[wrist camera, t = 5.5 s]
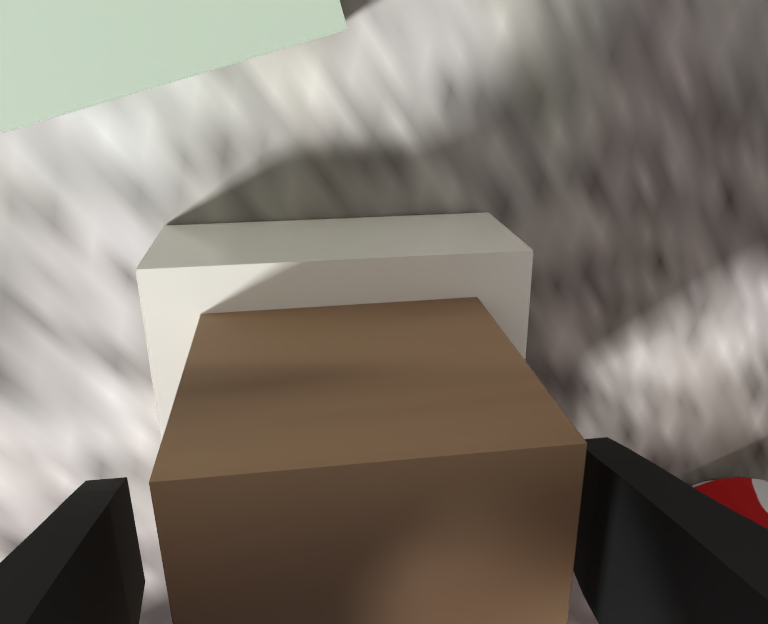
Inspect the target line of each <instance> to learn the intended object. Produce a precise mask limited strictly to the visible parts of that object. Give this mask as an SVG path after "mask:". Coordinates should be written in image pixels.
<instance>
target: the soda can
mask: <svg viewBox="0 0 768 624" xmlns="http://www.w3.org/2000/svg"><path fill="white" fill-rule="evenodd" d="M692 487H694V488H695V489H697V490H699V491H700V492H702V493H704V494H705V495H707V496H709V497H711V498H712V499H714V500H716V501H718V502H719V503H721V504H723V505H725V506H726V507H728V508H730V509H732V510H734V511H735V512H737V513H739V514H741V515H742V516H744V517H746V518H748V519H750V520H752V521H754V522H756V523H757V524H759V525H761V526H763V527H765V528H767V529H768V482H767V481H765V480H761V479H753V478H745V477H732V478H723V479H716V480H710V481H703V482H700V483H697V484H695V485H692Z"/></svg>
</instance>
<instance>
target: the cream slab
mask: <svg viewBox="0 0 768 624" xmlns="http://www.w3.org/2000/svg"><path fill="white" fill-rule="evenodd" d="M533 251H534V250H532V249H531V248H530V247H529V246H528V245H527V244H525V243H524V242H523V241H522V240H521V239H519V238H518V237H517V236H516V235H515V234H514V233H512V232H511V231H510V230H509V229H508V228H506V227H505V226H504V225H503V224H502V223H501V222H499V221H498V220H497V219H496V218H495V217H493V216H492V215H491V214H490V213H489V212H484V213H460V214H435V215H411V216H386V217H362V218H337V219H313V220H288V221H263V222H239V223H214V224H190V225H165V226H164V227H163V228H162V230H161V231H160V233H159V234H158V236H157V237H156V239H155V240H154V242H153V244H152V245H151V247H150V248H149V250H148V251H147V253H146V254H145V256H144V257H143V259H142V260H141V262H140V264H139V265H138V267H137V268H136V275H137V282H138V289H139V296H140V302H141V309H142V316H143V322H144V329H145V336H146V342H147V349H148V356H149V363H150V369H151V376H152V383H153V389H154V396H155V403H156V409H157V416H158V423H159V430H160V436H161V442H162V438H163V435H164V432H165V429H166V425H167V422H168V419H169V416H170V412H171V409H172V406H173V403H174V399H175V396H176V393H177V390H178V386H179V383H180V380H181V376H182V373H183V370H184V367H185V363H186V360H187V357H188V354H189V350H190V347H191V344H192V341H193V337H194V334H195V331H196V328H197V324H198V321H199V318H200V314H208V313H224V312H240V311H257V310H273V309H289V308H305V307H321V306H338V305H354V304H370V303H386V302H402V301H419V300H435V299H451V298H467V297H478V298H479V300H480V301H481V302H482V304H483V305H484V306H485V308H486V309H487V310H488V312H489V313H490V314H491V316H492V317H493V318H494V320H495V321H496V322H497V324H498V325H499V326H500V328H501V329H502V330H503V332H504V333H505V334H506V336H507V337H508V338H509V340H510V341H511V342H512V344H513V345H514V346H515V348H516V349H517V350H518V352H519V353H520V354H521V356H522V357H523V358H524V360H525V358H526V345H527V332H528V318H529V305H530V291H531V278H532V265H533Z"/></svg>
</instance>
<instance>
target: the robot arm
mask: <svg viewBox="0 0 768 624" xmlns="http://www.w3.org/2000/svg"><path fill="white" fill-rule="evenodd" d="M584 440H585V441H586V442H587V449H586V459H585V468H584V477H583V486H582V495H581V504H580V513H579V522H578V531H577V540H576V549H575V558H574V567H573V571H574V573H575V576H576V578H577V581H578V583H579V585H580V588H581V590H582V593H583V595H584V597H585V599H586V601H587V603H588V605H589V606H590V608H591V610H592V612H593V614H594V616H595V617H596V619H597V621H598V623H599V624H768V529H767V528H765V527H763V526H761V525H759V524H757V523H756V522H754V521H752V520H750V519H748V518H746V517H744V516H742V515H741V514H739V513H737V512H735V511H734V510H732V509H730V508H728V507H726V506H725V505H723V504H721V503H719V502H718V501H716V500H714V499H712V498H711V497H709V496H707V495H705V494H704V493H702V492H700V491H699V490H697V489H695V488H694V487H692V486H690V485H688V484H687V483H685V482H683V481H682V480H680V479H678V478H677V477H675V476H673V475H672V474H670V473H668V472H667V471H665V470H663V469H662V468H660V467H658V466H657V465H655V464H654V463H652V462H650V461H649V460H647V459H645V458H643V457H642V456H640V455H638V454H637V453H635V452H633V451H632V450H630V449H628V448H626V447H625V446H623V445H621V444H619V443H617V442H615V441H613V440H611V439H609V438H607V437H606V438H594V439H584ZM144 586H145V578H144V572H143V567H142V561H141V555H140V549H139V544H138V538H137V532H136V526H135V521H134V515H133V509H132V504H131V498H130V492H129V486H128V481H127V477H125V478H113V479H101V480H89V481H85V482H84V483H83V484H82V485H81V486H80V487H79V488H78V489H77V490H75V491H74V492H73V493H72V494H71V495H70V496H69V497H68V498H67V499H66V500H65V501H64V502H63V503H62V504H61V505H60V506H59V507H58V508H57V509H56V510H55V511H54V512H53V513H52V514H51V515H50V516H49V517H48V518H47V519H46V520H45V521H44V522H43V523H42V524H41V525H40V526H39V527H37V528H36V529H35V530H34V531H33V532H32V533H31V534H30V535H29V536H28V537H27V538H26V539H25V540H24V541H23V542H22V543H21V544H20V545H19V546H17V547H16V548H15V549H14V550H13V551H12V552H11V553H10V554H9V555H8V556H7V557H6V558H5V559H4V560H3V561H2V562H1V563H0V624H139V619H140V612H141V606H142V599H143V592H144Z"/></svg>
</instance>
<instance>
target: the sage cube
mask: <svg viewBox="0 0 768 624" xmlns="http://www.w3.org/2000/svg"><path fill="white" fill-rule="evenodd" d="M344 30H348V29H347V25H346V21H345V18H344V14H343V10H342V7H341V3H340V0H0V134H1V133H4V132H7V131H11V130H14V129H17V128H21V127H24V126H27V125H31V124H34V123H37V122H41V121H44V120H47V119H51V118H54V117H57V116H61V115H64V114H67V113H71V112H74V111H77V110H81V109H84V108H87V107H91V106H94V105H97V104H101V103H104V102H107V101H111V100H114V99H117V98H121V97H124V96H127V95H131V94H134V93H137V92H141V91H144V90H147V89H151V88H154V87H157V86H161V85H164V84H167V83H171V82H174V81H177V80H181V79H184V78H188V77H191V76H194V75H198V74H201V73H204V72H208V71H211V70H214V69H218V68H221V67H224V66H228V65H231V64H234V63H238V62H241V61H244V60H248V59H251V58H254V57H258V56H261V55H264V54H268V53H271V52H274V51H278V50H281V49H284V48H288V47H291V46H294V45H298V44H301V43H304V42H308V41H311V40H314V39H318V38H321V37H324V36H328V35H331V34H334V33H338V32H341V31H344Z"/></svg>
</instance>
